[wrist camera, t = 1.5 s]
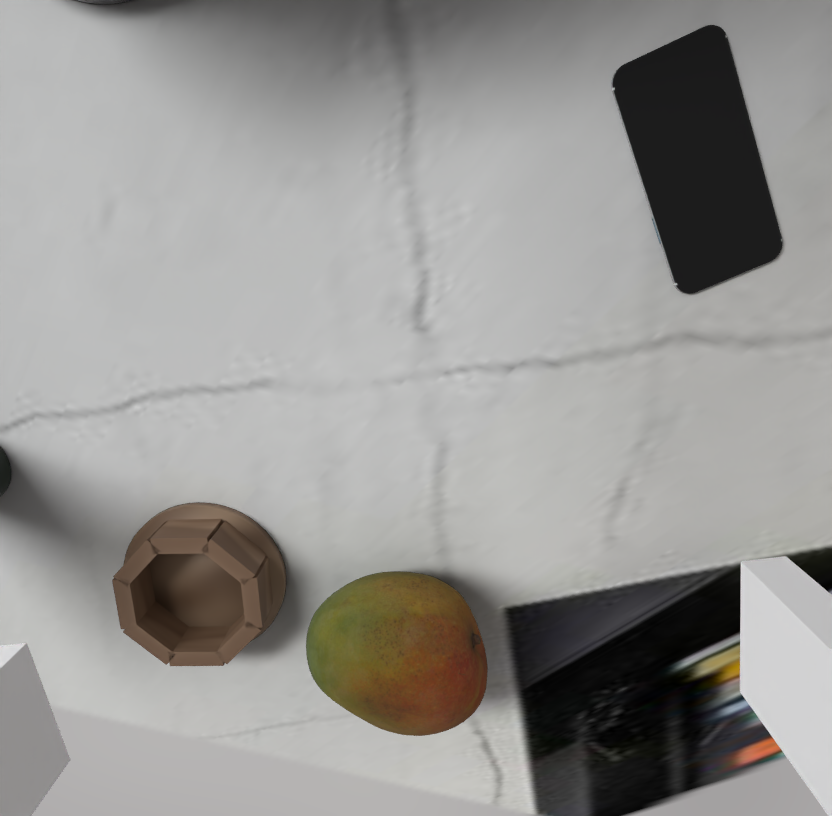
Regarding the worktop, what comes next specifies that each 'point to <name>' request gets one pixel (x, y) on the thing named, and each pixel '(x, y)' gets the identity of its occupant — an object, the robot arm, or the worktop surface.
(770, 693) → the robot arm
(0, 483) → the wine bottle
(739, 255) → the smartphone
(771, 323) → the worktop surface
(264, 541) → the bowl
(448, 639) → the fruit
